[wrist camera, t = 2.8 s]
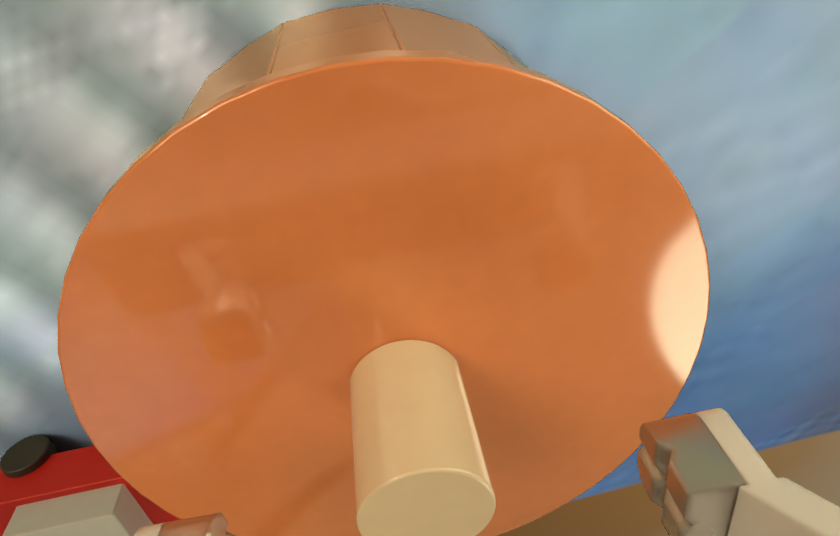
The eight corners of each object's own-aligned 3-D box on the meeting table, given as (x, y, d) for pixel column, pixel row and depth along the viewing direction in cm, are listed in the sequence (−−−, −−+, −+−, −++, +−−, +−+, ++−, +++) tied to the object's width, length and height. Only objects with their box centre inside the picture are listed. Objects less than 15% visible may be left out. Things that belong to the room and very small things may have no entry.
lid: (214, 565, 19) (184, 747, 15) (-79, 128, 10) (-321, 277, 6) (661, 467, 19) (749, 619, 15) (722, -30, 11) (949, 19, 7)
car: (62, 511, 26) (22, 607, 23) (1, 441, 24) (-55, 538, 20) (228, 475, 27) (214, 565, 23) (188, 401, 24) (164, 490, 20)
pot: (248, 393, 24) (221, 572, 18) (92, 55, 16) (-51, 162, 10) (571, 325, 24) (655, 476, 18) (566, -38, 17) (709, 10, 10)
